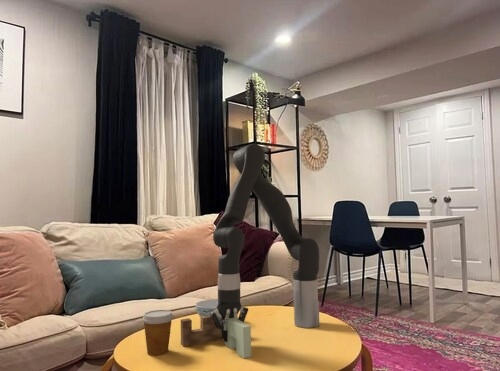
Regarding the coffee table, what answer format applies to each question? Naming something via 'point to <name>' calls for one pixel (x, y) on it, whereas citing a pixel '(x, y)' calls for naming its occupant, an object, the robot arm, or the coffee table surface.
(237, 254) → the robot arm
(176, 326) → the coffee table surface
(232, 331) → the cross piece
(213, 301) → the chinaware
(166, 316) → the disposable coffee cup
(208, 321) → the rail
